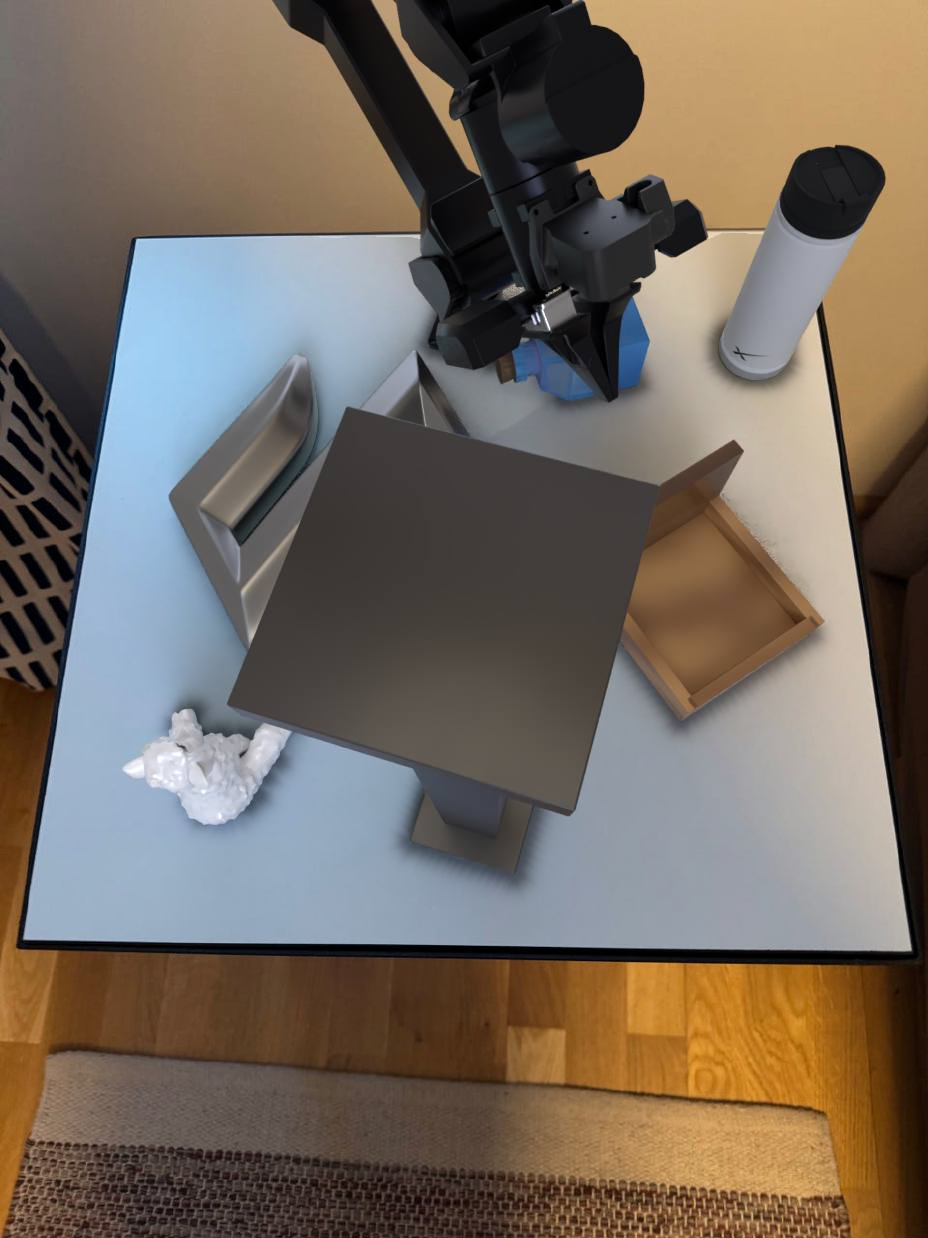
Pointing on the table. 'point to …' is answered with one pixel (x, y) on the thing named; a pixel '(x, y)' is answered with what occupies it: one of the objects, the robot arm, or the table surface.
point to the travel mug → (799, 256)
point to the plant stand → (452, 622)
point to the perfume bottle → (560, 375)
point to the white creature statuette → (209, 766)
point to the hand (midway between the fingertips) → (610, 400)
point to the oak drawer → (708, 593)
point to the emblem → (278, 479)
